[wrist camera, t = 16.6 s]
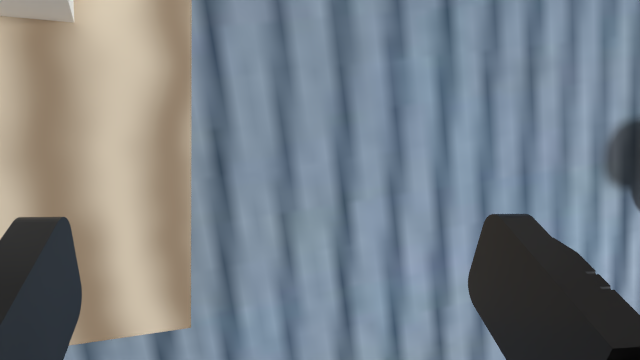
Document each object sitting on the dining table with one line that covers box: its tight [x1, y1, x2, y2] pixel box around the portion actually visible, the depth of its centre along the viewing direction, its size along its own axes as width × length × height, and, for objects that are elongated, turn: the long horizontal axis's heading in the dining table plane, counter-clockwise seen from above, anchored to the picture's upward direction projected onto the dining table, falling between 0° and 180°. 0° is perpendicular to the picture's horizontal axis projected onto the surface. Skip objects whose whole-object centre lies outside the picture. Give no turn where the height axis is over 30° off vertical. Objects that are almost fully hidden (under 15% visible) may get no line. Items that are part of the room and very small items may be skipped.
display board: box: [0, 0, 191, 345], centre depth 27 cm, size 15×30×4 cm, turn 177°
